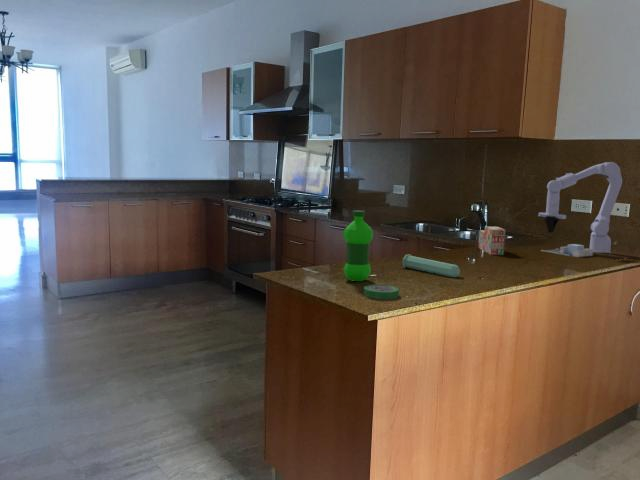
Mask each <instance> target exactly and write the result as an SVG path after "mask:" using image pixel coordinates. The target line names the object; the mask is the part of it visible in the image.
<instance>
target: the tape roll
mask: <svg viewBox="0 0 640 480" xmlns="http://www.w3.org/2000/svg"><path fill="white" fill-rule="evenodd" d="M364 295H365V296H367V297H366V298H368V297H370V298H369V299H372V298H376V299H375V300H394V299H393V298H395V299H398V298H399V297H398V296H399V295H400V289H399V287H397V286H394V285H389V284H369V285H365V286H364V287H363V296H364Z"/></svg>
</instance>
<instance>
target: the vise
mask: <svg viewBox="0 0 640 480" xmlns="http://www.w3.org/2000/svg"><path fill="white" fill-rule="evenodd" d="M540 252H544V253H551V254H554V255H555V254H557V255H561V256H566V257H574V258H584V257H593V256H594V255H593V254H594V252H593V249H590V248H589V247H588V248H585V247H584V249H575V250H573V255H569V254H563V253H560V249H559V248H558V247H556V248H555V249H546V250H544V249H540Z"/></svg>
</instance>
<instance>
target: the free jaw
mask: <svg viewBox="0 0 640 480" xmlns="http://www.w3.org/2000/svg"><path fill="white" fill-rule="evenodd" d="M558 249H560V253H563V254H567V245H566V246H559V248H558Z"/></svg>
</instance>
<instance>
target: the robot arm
mask: <svg viewBox="0 0 640 480" xmlns="http://www.w3.org/2000/svg"><path fill="white" fill-rule="evenodd" d="M596 174H597V175H598V174H599V175H602V176H604V177H605V178H606V180H607V181H608V183H609V185H608V187H607V190H606V193H605V195H604V198H603V201H602V203H601V206H600V209H599V212H598V214H597V215H596V217H595V220H594V221H593V222H592V223H591V224H590V231H591V233H590V240H589V249H593V253H599V254H605V253H606V254H611V246H612V240H611V237H610V236H609V235H608V233H609V230H610V223H611V222H610V221H611V220H610V217H611V216H612V215H611V214H612V212H613V209H614V207H615V204H616V202H617V198H618V195H619V192H620V190H621V189H622V188H621V187H622V184H623V177H622V173H621V168H620V166H618V164H617V163H616V162H615V161H609V162H608V161H605V162H602V163H598V164H595V165H592V166H590V167H588V168H586V169H584V170H582V171H579V172H577V173H573V172H570V173H569V172H567V173H566V172H565V175H563V176H560V177H555V179H553V180H550V181H549V182H548V183H547V185H546V189H547V195H546V206H545V207H546V208H545V212H543V211H542V212H538V215H537V217H543V219H544V221H545V224H546V227H547V231H548V233H554V232H555V228H556V225H557V224H558V223H559V221H560V220H567V214H560V213H559V211H560V199H561V197H560V196H561V195H560V192H561V190H564V189H566V188H569V187H571V186H574V185H576V184H577V182H578V181H579V180H582V179H585V178H587V177H590V176H592V175H596Z"/></svg>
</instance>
